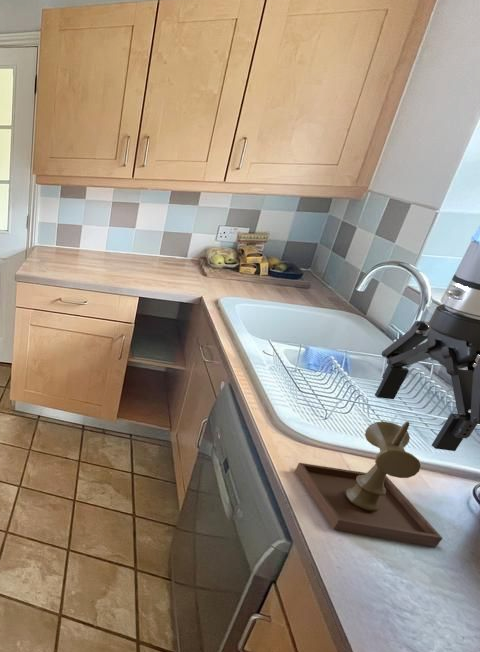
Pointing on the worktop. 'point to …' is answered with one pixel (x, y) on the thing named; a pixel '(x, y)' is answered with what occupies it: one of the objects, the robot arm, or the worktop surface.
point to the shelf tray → (388, 522)
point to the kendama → (383, 464)
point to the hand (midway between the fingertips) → (411, 420)
